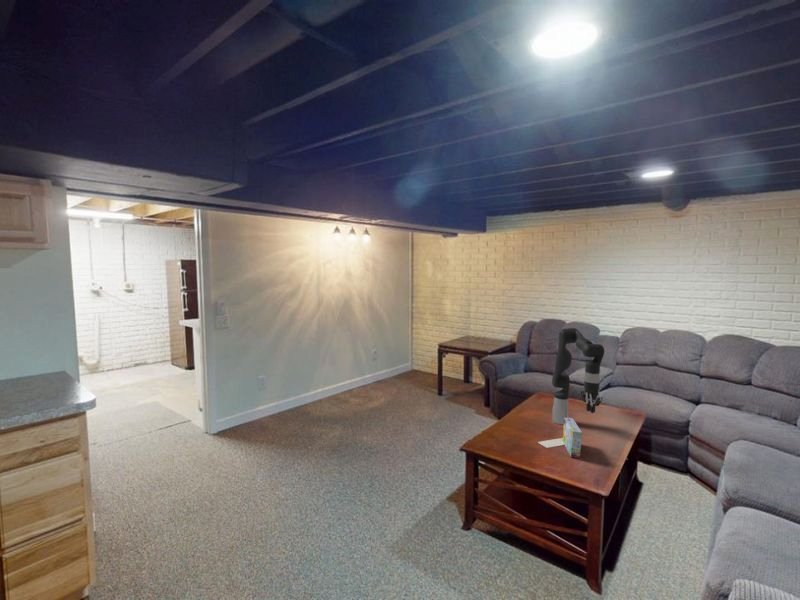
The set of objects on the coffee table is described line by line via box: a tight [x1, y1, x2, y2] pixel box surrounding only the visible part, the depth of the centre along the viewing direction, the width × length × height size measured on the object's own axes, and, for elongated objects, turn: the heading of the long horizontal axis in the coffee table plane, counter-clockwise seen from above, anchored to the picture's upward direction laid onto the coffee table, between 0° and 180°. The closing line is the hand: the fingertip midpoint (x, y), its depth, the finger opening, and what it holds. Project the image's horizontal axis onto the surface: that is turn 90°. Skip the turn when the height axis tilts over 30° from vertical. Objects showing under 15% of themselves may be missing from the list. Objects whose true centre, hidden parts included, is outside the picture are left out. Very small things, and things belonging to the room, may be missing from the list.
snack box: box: [562, 417, 583, 459], centre depth 230 cm, size 21×6×15 cm, turn 170°
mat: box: [537, 437, 565, 449], centre depth 240 cm, size 8×24×1 cm, turn 110°
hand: (590, 411), depth 216 cm, fingers closed
